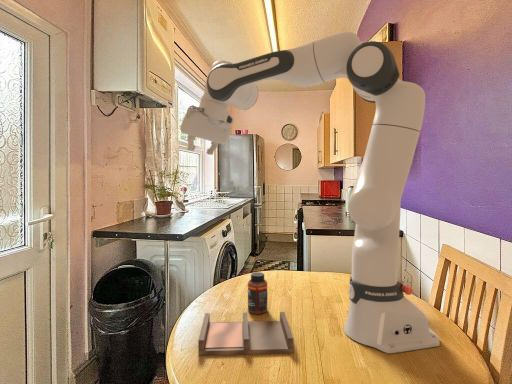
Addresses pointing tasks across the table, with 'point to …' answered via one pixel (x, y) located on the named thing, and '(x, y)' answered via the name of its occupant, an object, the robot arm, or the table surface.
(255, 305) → the supplement bottle
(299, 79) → the robot arm
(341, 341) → the table surface
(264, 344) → the slot rack
